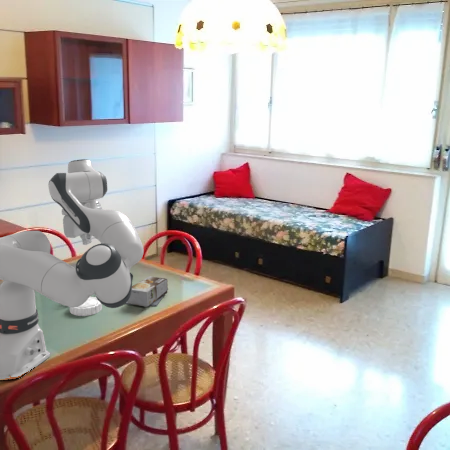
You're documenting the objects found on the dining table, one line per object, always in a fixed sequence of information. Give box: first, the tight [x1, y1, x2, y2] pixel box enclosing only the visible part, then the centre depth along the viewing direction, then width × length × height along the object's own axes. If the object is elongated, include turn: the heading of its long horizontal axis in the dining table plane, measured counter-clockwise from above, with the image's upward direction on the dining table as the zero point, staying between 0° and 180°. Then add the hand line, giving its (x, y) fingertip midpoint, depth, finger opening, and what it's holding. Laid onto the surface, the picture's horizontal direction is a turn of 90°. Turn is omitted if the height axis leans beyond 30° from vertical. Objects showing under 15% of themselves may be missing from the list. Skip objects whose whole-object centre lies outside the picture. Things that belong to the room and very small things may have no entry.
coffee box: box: [128, 276, 169, 308], centre depth 206 cm, size 9×6×16 cm
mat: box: [124, 288, 169, 307], centre depth 211 cm, size 18×16×1 cm
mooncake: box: [69, 296, 103, 317], centre depth 198 cm, size 12×12×4 cm
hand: (87, 243), depth 184 cm, fingers closed
